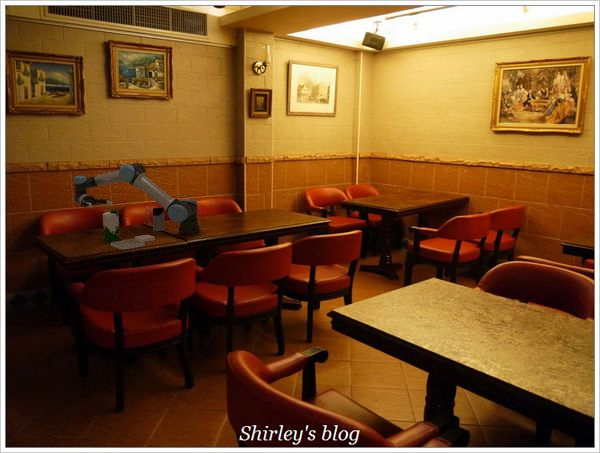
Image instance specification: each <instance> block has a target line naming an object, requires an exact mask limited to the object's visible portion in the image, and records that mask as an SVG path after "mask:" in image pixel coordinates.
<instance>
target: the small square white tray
mask: <svg viewBox="0 0 600 453" xmlns="http://www.w3.org/2000/svg"><path fill="white" fill-rule="evenodd" d="M134 239H135V240H138V241H141V242H144V243H145V242H151V241H156V237H155V236H153V235H149V234H144V235H138V236H134Z"/></svg>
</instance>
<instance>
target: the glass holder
mask: <svg viewBox="0 0 600 453" xmlns="http://www.w3.org/2000/svg"><path fill="white" fill-rule="evenodd" d="M147 211H149V212H150V216H151V217H152V222H151V221H150V220H149V218H148V216H147ZM145 217H146V220H147V221H148V222H149V223H150V224H151V225H152V227H153V228H152V231H156V232H161V231H165V230H166V227H165V225H166V224H165V223H166V222H165V208H164V207H153V208H152V211H151V210H150V209H146V210H145Z"/></svg>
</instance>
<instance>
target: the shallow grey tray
mask: <svg viewBox="0 0 600 453" xmlns="http://www.w3.org/2000/svg"><path fill="white" fill-rule="evenodd" d="M145 244H146V243H145V242H141V241H138V240H135V238H129V239H123V240H122V239H121V240H118V241H116V242H110V246H111V247H113V246H114V248H116V249H119V250H122V251H124V250H129V249H135V248H140V247H141V248H142V247H145V246H146V245H145Z"/></svg>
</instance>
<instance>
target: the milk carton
mask: <svg viewBox="0 0 600 453" xmlns="http://www.w3.org/2000/svg"><path fill="white" fill-rule="evenodd" d="M119 219H120V218H119V212H118V209H110V211H108V212H107V211H106V212H104V213H103V214H102V224H103V236H104V242H106V243H111V242H116V241H120V220H119Z"/></svg>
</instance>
